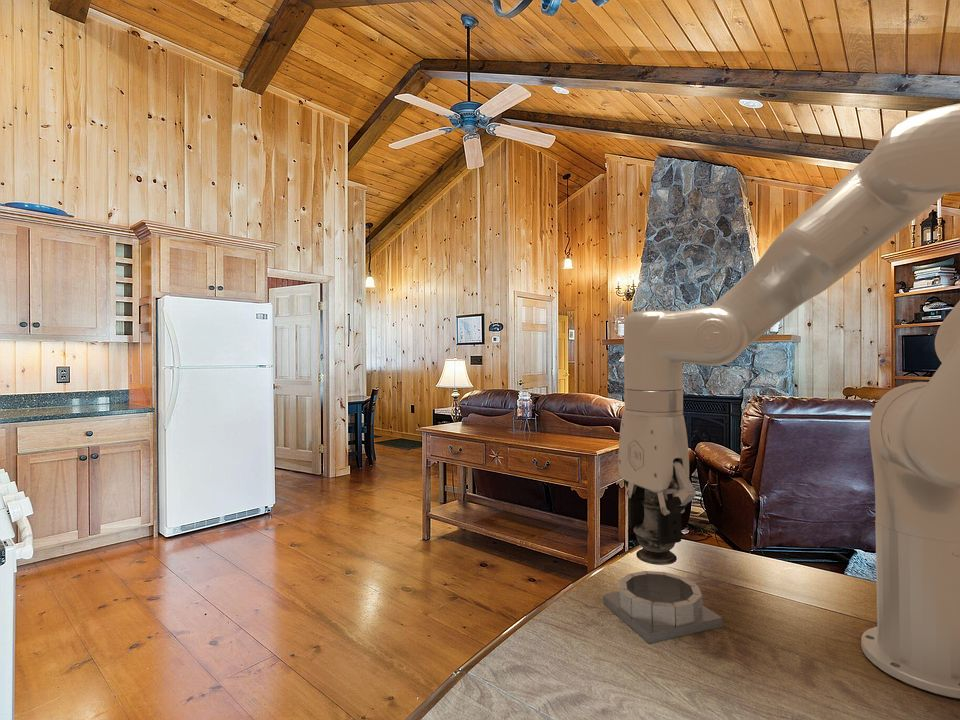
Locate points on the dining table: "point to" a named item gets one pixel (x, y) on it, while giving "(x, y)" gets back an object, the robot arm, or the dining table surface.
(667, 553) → the salt shaker
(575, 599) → the dining table surface
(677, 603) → the hub plate
